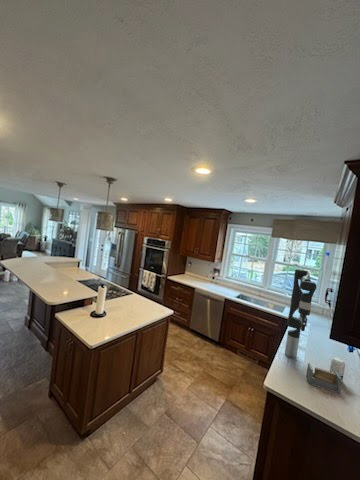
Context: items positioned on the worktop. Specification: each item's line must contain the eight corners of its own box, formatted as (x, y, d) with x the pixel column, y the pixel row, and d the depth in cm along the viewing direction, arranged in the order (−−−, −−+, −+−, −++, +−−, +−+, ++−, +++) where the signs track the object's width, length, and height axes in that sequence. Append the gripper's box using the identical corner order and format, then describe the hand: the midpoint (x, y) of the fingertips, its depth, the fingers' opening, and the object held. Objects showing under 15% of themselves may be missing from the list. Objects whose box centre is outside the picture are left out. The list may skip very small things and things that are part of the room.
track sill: (306, 376, 155) (308, 362, 155) (334, 385, 149) (337, 371, 149) (308, 383, 147) (310, 369, 147) (339, 393, 141) (341, 379, 140)
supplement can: (327, 374, 162) (330, 355, 161) (340, 378, 159) (343, 358, 158) (330, 380, 154) (333, 360, 154) (344, 384, 151) (347, 364, 151)
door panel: (313, 379, 151) (315, 367, 151) (333, 385, 147) (335, 373, 147) (314, 381, 149) (316, 369, 148) (334, 388, 144) (336, 375, 144)
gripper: (297, 304, 166) (294, 324, 167) (300, 309, 153) (297, 330, 153) (308, 306, 164) (305, 326, 164) (312, 311, 150) (309, 333, 151)
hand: (301, 328), depth 159 cm, fingers open, 8 cm apart
